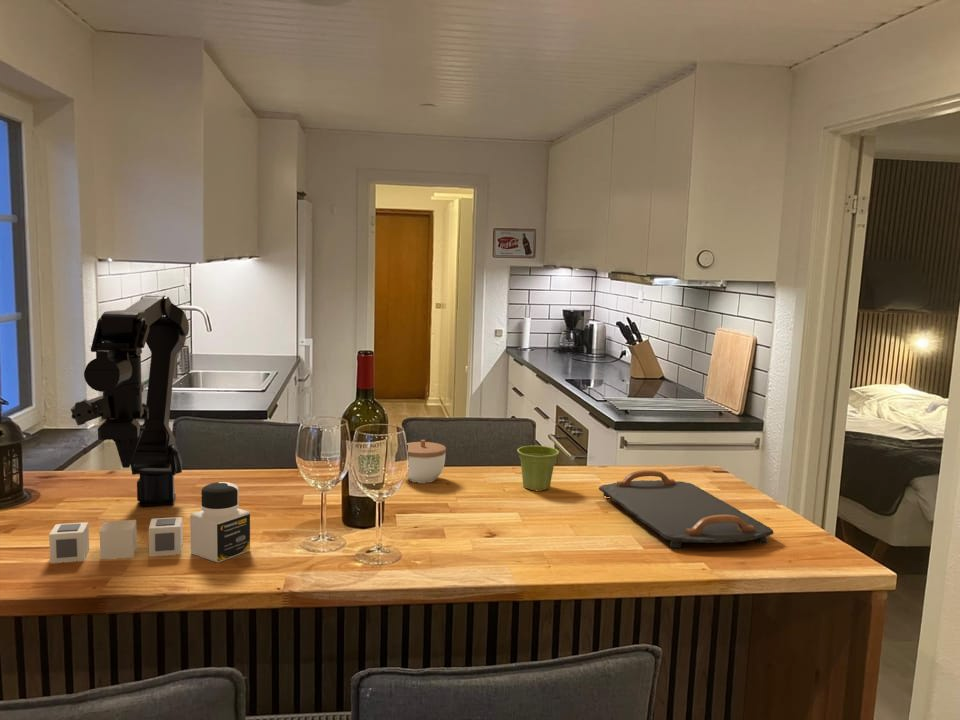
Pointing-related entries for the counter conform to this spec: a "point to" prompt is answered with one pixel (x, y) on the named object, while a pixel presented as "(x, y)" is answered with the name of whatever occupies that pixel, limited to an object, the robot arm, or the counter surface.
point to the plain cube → (118, 539)
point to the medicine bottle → (220, 524)
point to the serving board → (683, 511)
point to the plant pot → (537, 466)
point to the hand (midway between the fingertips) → (126, 467)
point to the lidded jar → (425, 461)
